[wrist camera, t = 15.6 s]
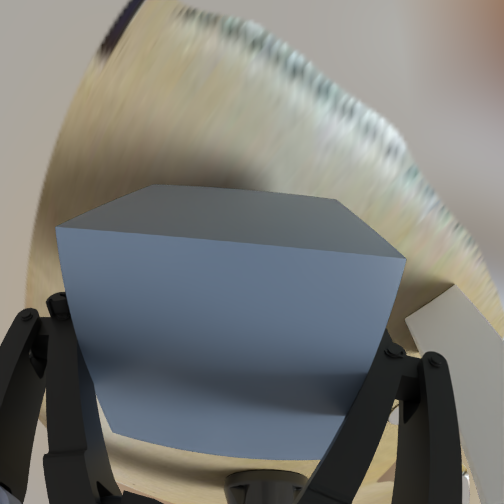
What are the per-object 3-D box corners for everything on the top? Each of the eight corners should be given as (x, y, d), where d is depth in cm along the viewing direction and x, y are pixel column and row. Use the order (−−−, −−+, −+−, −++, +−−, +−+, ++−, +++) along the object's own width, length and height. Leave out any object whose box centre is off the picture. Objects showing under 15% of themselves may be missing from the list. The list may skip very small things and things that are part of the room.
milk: (418, 352, 25) (487, 541, 5) (403, 317, 23) (493, 547, 3) (465, 321, 23) (558, 493, 3) (456, 281, 21) (582, 481, 1)
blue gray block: (307, 349, 19) (324, 459, 11) (160, 333, 19) (112, 432, 11) (336, 199, 15) (406, 258, 7) (153, 184, 16) (55, 226, 7)
